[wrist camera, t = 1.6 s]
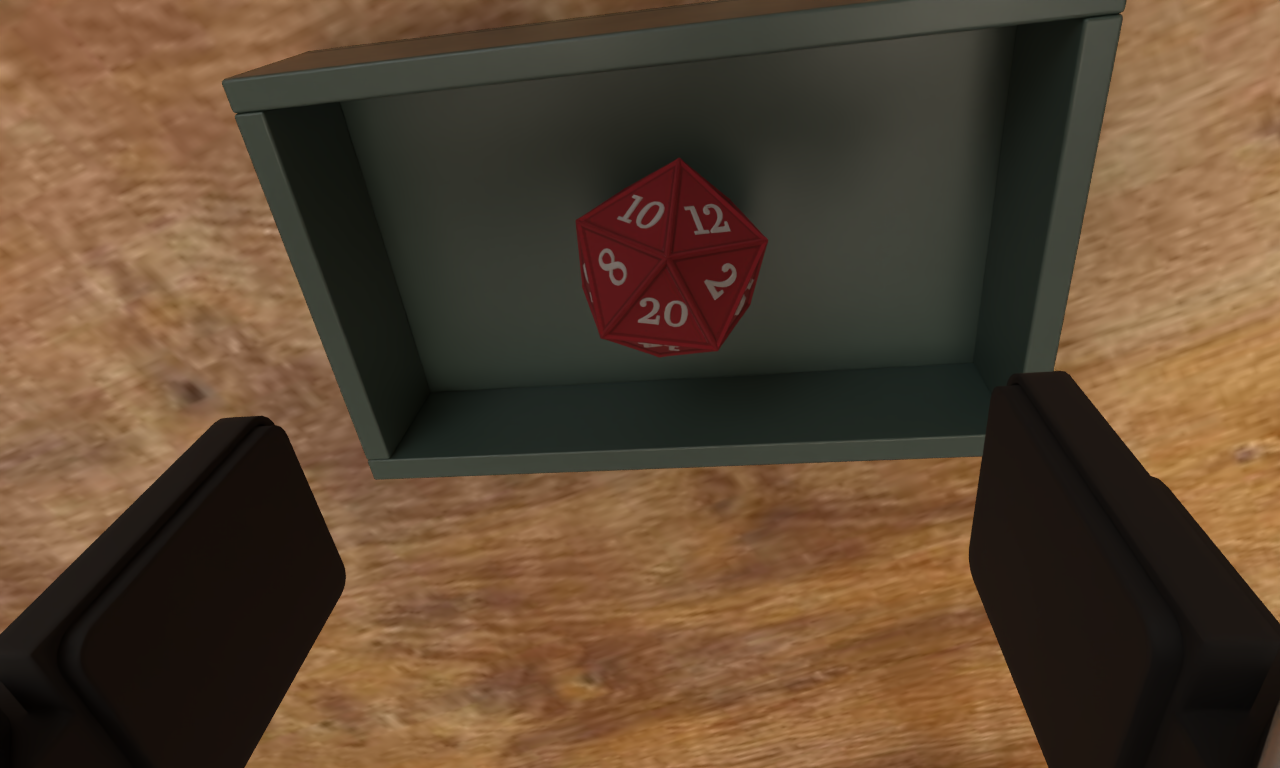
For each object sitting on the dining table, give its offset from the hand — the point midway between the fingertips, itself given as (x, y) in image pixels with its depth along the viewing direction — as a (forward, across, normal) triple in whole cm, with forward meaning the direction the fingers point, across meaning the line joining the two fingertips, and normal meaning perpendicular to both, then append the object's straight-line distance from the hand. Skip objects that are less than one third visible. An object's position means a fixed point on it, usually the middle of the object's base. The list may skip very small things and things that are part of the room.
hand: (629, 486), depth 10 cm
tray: (+9, 0, 0) cm, 9 cm away
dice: (+9, 0, 0) cm, 9 cm away
